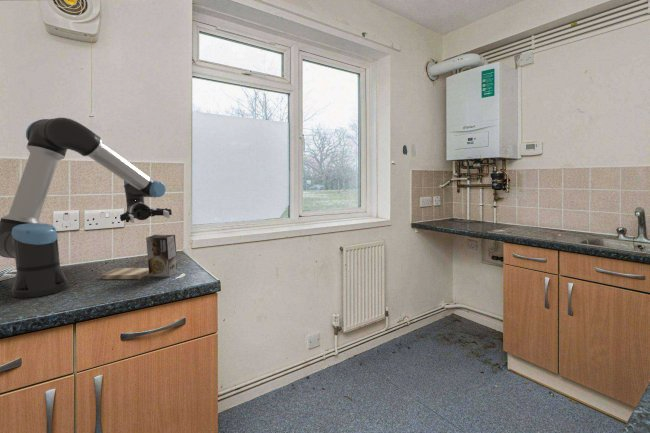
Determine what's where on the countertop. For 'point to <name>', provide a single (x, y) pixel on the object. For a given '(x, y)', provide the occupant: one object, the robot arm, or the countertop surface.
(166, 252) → the coffee box
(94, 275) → the countertop surface
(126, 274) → the birch board
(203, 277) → the countertop surface
